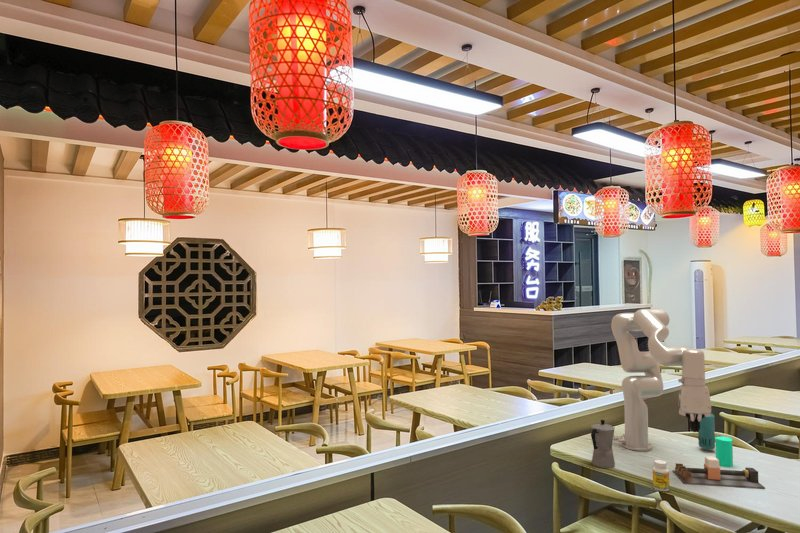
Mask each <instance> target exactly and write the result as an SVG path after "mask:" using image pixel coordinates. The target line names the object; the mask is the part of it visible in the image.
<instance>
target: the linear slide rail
mask: <svg viewBox="0 0 800 533" xmlns="http://www.w3.org/2000/svg"><path fill="white" fill-rule="evenodd" d="M672 473H673V474H674V476H676V477H677V478H678V479H679V481H680V482H681V483H682V484H683V485H694V486H695V485H696V486H698V485H699V486H710V487H712V486H714V487H725V488H727V487H728V488H740V489H741V488H742V489H743V488H744V489H757V490H759V489H760V490H766V487H765V486H764V485H762V483H760V482H759V471H758V470H756V469H755V468H754V467H745V469H742V470H733V469H720V480H715V479H708V478H707V477H706V476H705V475H704V474H708V469H704V468H702V467H701V468H698V467H697V468H696V467H686V466H685V465H684V464H683V463H680V462H679V463H678V462H677V463H675V467H674V469H672Z"/></svg>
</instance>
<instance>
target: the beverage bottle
mask: <svg viewBox="0 0 800 533" xmlns="http://www.w3.org/2000/svg"><path fill="white" fill-rule="evenodd" d="M712 411H713V408H712V407H711V413H710V414H711V415H710V416H707V417H704V418H703V419H702V420H701V421H700V429H699V432H697V434H698V437H697V439H698V440H697V441H698V444H697V445H698V447H699V448H701V449H705V450H716V443H715V438H716V431H715V426H716V424H715V414H714V413H712Z"/></svg>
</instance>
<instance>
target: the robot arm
mask: <svg viewBox="0 0 800 533" xmlns="http://www.w3.org/2000/svg"><path fill="white" fill-rule="evenodd" d="M669 323H670V316H669V313H668V312H667V311H666V310H664V309H662V308H640V309H638V310H636V311H635V312H623V313H622V312H620V313H616V315H614V316H613V317H612V319H611V324H610V325H611V332H612V335H613V337H614V340H615V342H616V345H617V350H618V355H619V360H620V365H621V368H622V370H623V371H624V372H626V373H630V374H634V373H635V374H637V373H638V374H640V373H642V374H643V373H644V375H629V376H626V377H624V378H623V380H622V381H621V388H622V389H621V390H622V394H623V402H624V403H623V404H624V405H623V406H624V433H622V435H621V436H618V435H614V436H613V441H616V442H618V443H621V444H620V445H621V446H622V447H623V448H625V449H628V450H632V451H638V452H648V451H651V450H652V449H653V445H652V444H651V443H649V412H648V411H649V409H648V405H647V404H646V402H645V401H644V399H643V398H655V397H660V396H661V395H662V394H663V393H664V383H663V378H662V374H661V367H660V365H661V366H664V367H681V378H678V379H677V381H678V383H681V384H680V385H679V386H680V387H679V392H678V409H679V410H678V414H679V415H680V416H684V417H686V418H687V419H689V429H690V430H691V432H693V433H698V432H699V429H700V421H701V420H702V419H703V418H704V417H707V416H710V415H711V414H710V413H712V411H711V408H712V403H711V402H712V401H711V396H710V391H709V390H710V389H709V387H708V386H707V385H706V373H705V372H706V368H705V367H706V366H705V365H706V364H705V362H706V361H705V353H704V351H703V350H701V349H695V348H692V347H689V346H665V345H663V344H662V342H664V341H665V340H667V338H668V337H669V334H670V330H669V328H668V325H669ZM630 332H642V333H643V334H644V335H645V336H646V337H647V338H648V339H647V340H648V341H647V347H648V351H640V350H639V346H638V341H637V340H636V338H635V337H634V336H633V335H632V334H631V333H630ZM694 414H695V415H694Z"/></svg>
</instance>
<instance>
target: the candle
mask: <svg viewBox="0 0 800 533" xmlns="http://www.w3.org/2000/svg"><path fill="white" fill-rule="evenodd" d="M733 450H734V449H733V438H731V437H729V436H724V435H722V436H715V458H717V459H718V460H719V467H725V468H732V467H734V466H733V465H734V462H733V461H734V458H733V457H734V456H733V454H734V452H733Z"/></svg>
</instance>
